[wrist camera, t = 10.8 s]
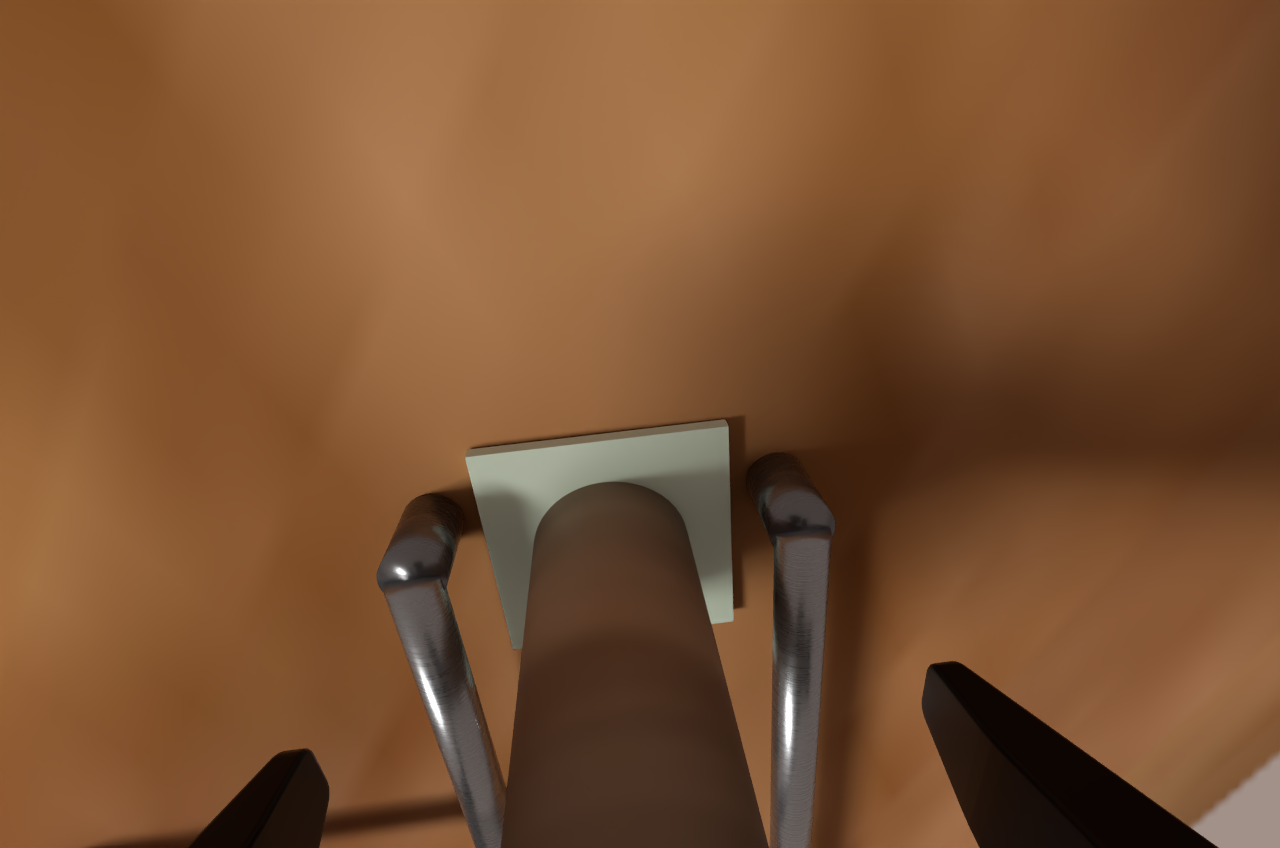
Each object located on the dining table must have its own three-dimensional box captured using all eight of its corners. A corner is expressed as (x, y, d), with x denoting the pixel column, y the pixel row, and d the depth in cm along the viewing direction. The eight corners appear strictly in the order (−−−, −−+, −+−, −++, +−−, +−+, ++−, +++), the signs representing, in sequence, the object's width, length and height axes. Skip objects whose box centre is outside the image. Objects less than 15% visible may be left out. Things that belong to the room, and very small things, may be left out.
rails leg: (787, 902, 20) (810, 991, 18) (537, 939, 20) (532, 1033, 18) (804, 449, 12) (848, 515, 10) (395, 498, 12) (359, 576, 10)
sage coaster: (730, 611, 14) (733, 621, 14) (514, 639, 14) (513, 649, 14) (725, 419, 12) (728, 426, 12) (467, 449, 12) (465, 457, 12)
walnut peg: (692, 596, 14) (815, 1127, 6) (546, 615, 13) (509, 1177, 6) (683, 472, 12) (832, 979, 5) (520, 492, 12) (435, 1043, 5)
